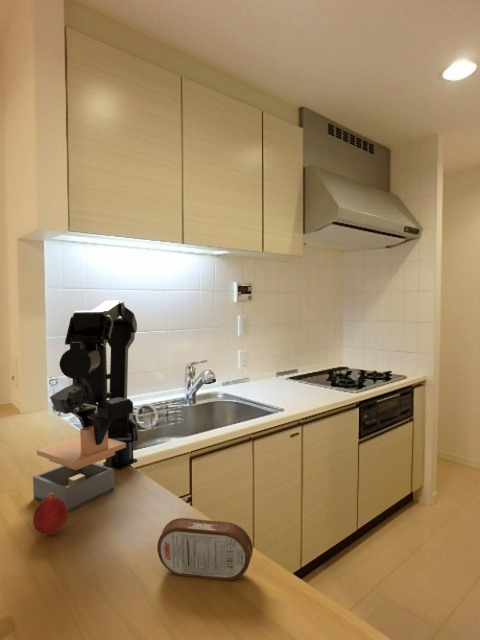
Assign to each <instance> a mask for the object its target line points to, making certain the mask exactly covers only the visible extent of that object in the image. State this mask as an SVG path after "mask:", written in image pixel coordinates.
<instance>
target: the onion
mask: <svg viewBox="0 0 480 640" xmlns="http://www.w3.org/2000/svg"><path fill="white" fill-rule="evenodd" d="M32 517H33V518H32V524H33V527H34V529H35V530H36V532H39V533H40V534H42V535H45V536H48V537H53V536H55V535H56V534H57V533H58V532H59V531H60V530H61V529H63V527H64V525H65V524H66V523H67V520H68V519H69V513H68V510H67V506H66V504H65V503H64V502H63V501H62V500H60V499H59V498H56V497H54V493H50V494H49V495H48V496H47V497H46V498H45V499H44V500H43V501H42V502H40V503H39V504H38V505H37V506H36V508H35V510H34V512H33V516H32Z"/></svg>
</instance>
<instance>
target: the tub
mask: <svg viewBox="0 0 480 640" xmlns="http://www.w3.org/2000/svg"><path fill="white" fill-rule="evenodd" d="M114 470H115V468H112V467H109V466H106V465H103V464H100V463H98V462H96V463H93V464H90V465H88V466H85V467H83V468H80V469H78V470H74V469H71V468H68V467H66V466H63V465H60V466H56V467H54V468H52V469H49V470H47V471H45V472H41V473H39V474H36V475H33V476H32V482H33V483H32V485H33V488H32V489H33V499H34V500H35V501H38V502H40V503H41V502H42V501H43V500H44V499H45V498H46V497H47V496H48V495H49V494H50V493H54V497H56V498H59V499H60V500H62V501H63V502H64V503H65V504H66V506H67V510H68V514H70V513H72V512H74V511H76V510H78V509H79V508H81V507H84V506H86V505H88V504H91V503H92V502H94V501H96V500H98V499H100V498H103V497H104V496H106V495H109V494H110V493H112V492H114V491H115V471H114Z"/></svg>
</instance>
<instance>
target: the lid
mask: <svg viewBox="0 0 480 640" xmlns="http://www.w3.org/2000/svg"><path fill="white" fill-rule="evenodd" d="M79 435H80V436H77V437H75V438H71V439H68V440H66V441H62V442H59V443H56V444H52V445H50V446H46V447H43V448H40V449H36V455H37V456H39V457H42V458H45V459H47V460H49V461H50V462H52V463H55V464H58V465H60V466H62V465H63V466H66V467H68V468H71V469H74V470H78V469H80V468H83V467H85V466H88V465H90V464H93V463H98V462H101V461H103V460H106V458H108V457H111V456H114V455H115V451H118V450H120V449H123V448H125V447H126V443H124V442H120V441H117V440H113V439H109V438H108V430H107V433H106V435H105V437H104V439H103V441H102V443H101V444H99V445H96V441H95V434H94V426H89V427H86V428H83V427H82V428H80V429H79Z"/></svg>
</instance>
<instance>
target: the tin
mask: <svg viewBox="0 0 480 640" xmlns="http://www.w3.org/2000/svg"><path fill="white" fill-rule="evenodd" d="M156 547H157V549H156V550H157V554H158V557H159V560H160V562H161V563H162V565H163V567H164V568H166V569H167V570H168V571H169V572H171V573H173V574H175V575H177V576H182V577H192V578H198V579H199V578H200V579H208V580H209V579H210V580H215V581H216V580H218V581H224V582H226V581H228V582H230V581H234V580H237V579H239V578H240V577H242V576H244V575H245V573H246V571H247V570H248V568H249V566H250V563H251V559H252V556H253V551H254V550H253V543H252V539H251V538H250V536H249V534H248V533H247V531H245V529H243V528H242V527H241V526H239V525H238V524H236V523H232V522H229V521H219V520H210V519H198V518H189V517H178V518H175V519H172V520H170V521H168V523H167V524H166V525H165V526H163V529H162V532H161V534H160V536H159V539H158V541H157V546H156Z"/></svg>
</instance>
